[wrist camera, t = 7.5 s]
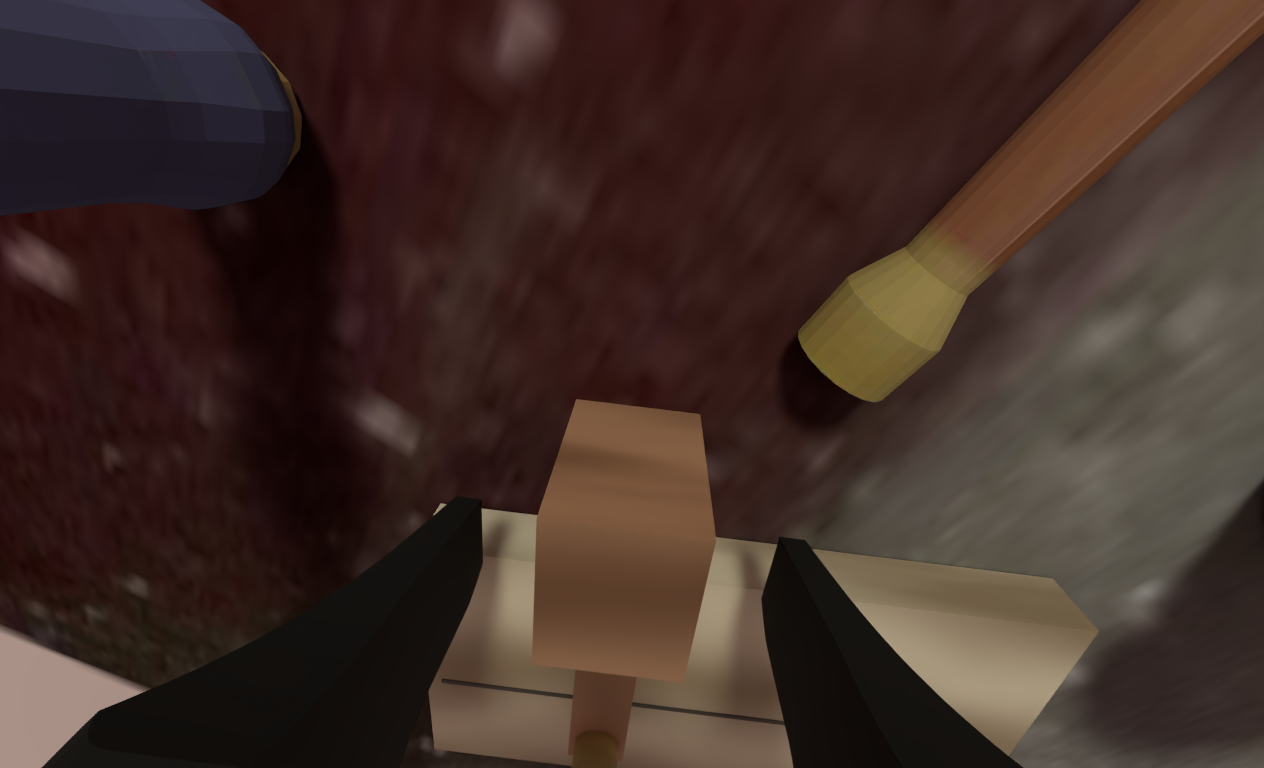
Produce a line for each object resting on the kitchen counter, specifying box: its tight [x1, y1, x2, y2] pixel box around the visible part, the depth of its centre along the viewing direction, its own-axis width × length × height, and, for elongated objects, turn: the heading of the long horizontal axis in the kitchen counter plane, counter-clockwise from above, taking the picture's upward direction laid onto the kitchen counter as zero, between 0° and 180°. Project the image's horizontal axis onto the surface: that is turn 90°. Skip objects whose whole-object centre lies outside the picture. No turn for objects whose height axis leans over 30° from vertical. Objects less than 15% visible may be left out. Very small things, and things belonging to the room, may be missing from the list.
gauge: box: [532, 399, 716, 768], centre depth 15 cm, size 11×4×5 cm, turn 174°
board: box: [429, 504, 1099, 768], centre depth 18 cm, size 10×20×2 cm, turn 84°
